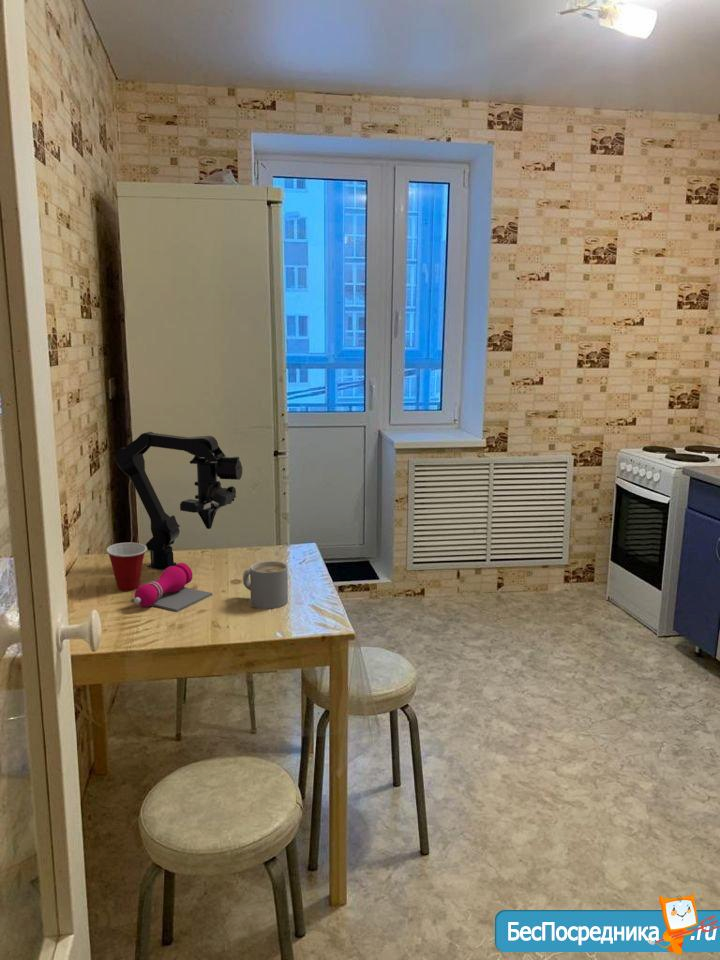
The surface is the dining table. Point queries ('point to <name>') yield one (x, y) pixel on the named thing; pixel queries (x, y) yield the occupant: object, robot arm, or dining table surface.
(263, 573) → the coffee mug
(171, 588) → the pepper mill
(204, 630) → the dining table surface
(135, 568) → the plastic cup
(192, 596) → the mat
